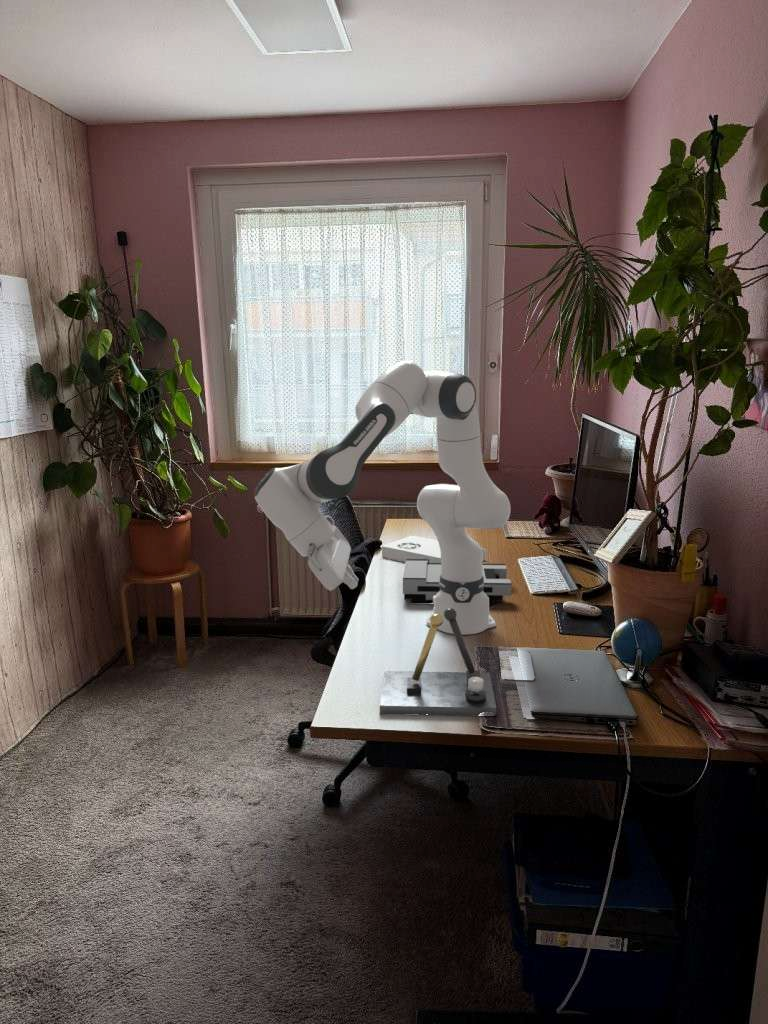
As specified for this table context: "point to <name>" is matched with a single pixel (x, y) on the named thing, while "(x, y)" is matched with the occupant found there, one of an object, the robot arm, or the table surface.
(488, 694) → the switch panel
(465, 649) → the black lever
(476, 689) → the grey button
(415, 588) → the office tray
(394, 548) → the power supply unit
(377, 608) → the table surface
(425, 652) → the brass lever
